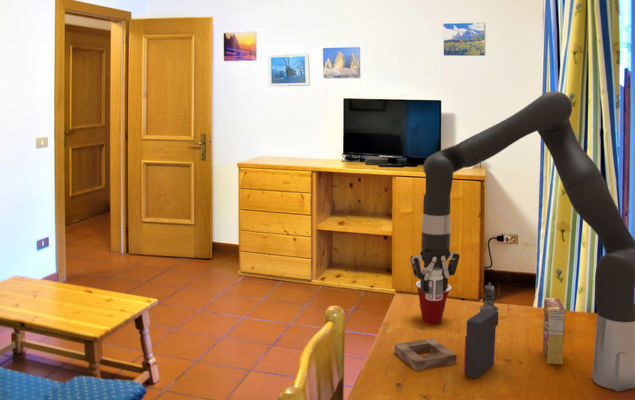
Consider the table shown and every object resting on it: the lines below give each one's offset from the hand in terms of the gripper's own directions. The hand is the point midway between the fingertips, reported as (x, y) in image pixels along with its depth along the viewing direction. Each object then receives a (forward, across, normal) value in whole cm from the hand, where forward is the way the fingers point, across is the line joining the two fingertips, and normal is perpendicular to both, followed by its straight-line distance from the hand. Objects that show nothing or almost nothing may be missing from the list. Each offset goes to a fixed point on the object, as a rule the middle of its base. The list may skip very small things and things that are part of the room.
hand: (434, 291), depth 171 cm
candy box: (+18, +29, -14) cm, 36 cm away
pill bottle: (+2, 0, 0) cm, 2 cm away
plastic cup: (+18, +12, +21) cm, 30 cm away
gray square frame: (+18, -4, -2) cm, 18 cm away
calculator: (+18, +6, -14) cm, 23 cm away
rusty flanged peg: (+18, +29, +17) cm, 38 cm away
